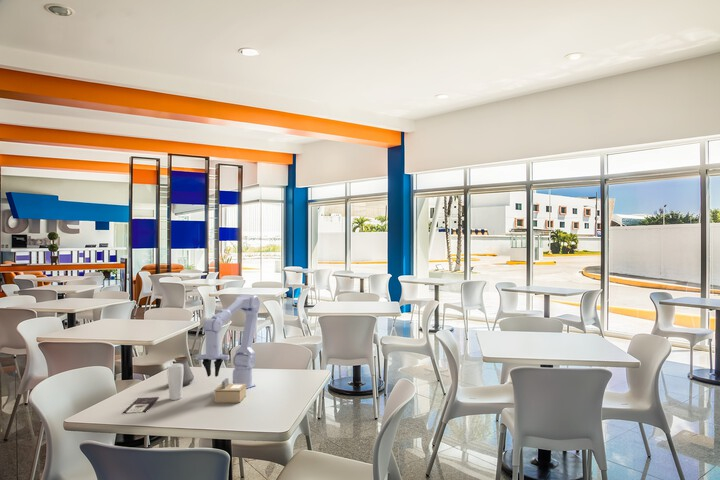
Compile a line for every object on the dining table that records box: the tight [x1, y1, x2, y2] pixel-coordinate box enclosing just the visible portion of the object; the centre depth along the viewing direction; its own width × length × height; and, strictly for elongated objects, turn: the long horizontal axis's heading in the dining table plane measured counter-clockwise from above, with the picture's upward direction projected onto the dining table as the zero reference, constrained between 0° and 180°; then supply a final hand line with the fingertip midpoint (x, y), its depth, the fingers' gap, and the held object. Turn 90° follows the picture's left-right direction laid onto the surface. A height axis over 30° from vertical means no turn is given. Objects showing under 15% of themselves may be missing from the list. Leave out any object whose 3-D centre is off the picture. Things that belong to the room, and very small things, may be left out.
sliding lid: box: [213, 377, 246, 392], centre depth 209 cm, size 11×9×4 cm
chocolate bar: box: [122, 396, 160, 414], centre depth 203 cm, size 9×1×18 cm
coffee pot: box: [169, 356, 195, 387], centre depth 229 cm, size 21×12×15 cm, turn 6°
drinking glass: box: [166, 363, 184, 401], centre depth 211 cm, size 7×7×15 cm
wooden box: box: [214, 386, 247, 404], centre depth 209 cm, size 11×9×5 cm
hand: (212, 375), depth 210 cm, fingers open, 3 cm apart
